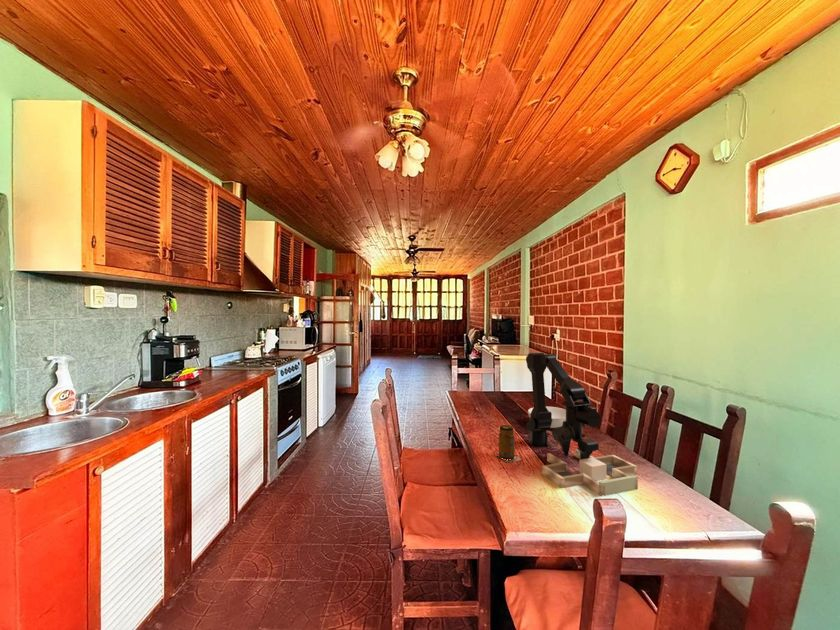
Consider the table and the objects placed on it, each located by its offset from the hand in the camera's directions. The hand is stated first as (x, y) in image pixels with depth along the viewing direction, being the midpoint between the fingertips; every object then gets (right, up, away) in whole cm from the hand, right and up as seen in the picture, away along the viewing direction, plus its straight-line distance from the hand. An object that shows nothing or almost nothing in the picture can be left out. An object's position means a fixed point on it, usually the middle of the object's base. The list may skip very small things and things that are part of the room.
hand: (574, 460), depth 134 cm
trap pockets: (+2, -2, -7) cm, 8 cm away
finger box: (+2, -2, -7) cm, 8 cm away
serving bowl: (+8, -1, +47) cm, 48 cm away
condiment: (-23, -2, +8) cm, 24 cm away
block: (+3, -2, -9) cm, 9 cm away
